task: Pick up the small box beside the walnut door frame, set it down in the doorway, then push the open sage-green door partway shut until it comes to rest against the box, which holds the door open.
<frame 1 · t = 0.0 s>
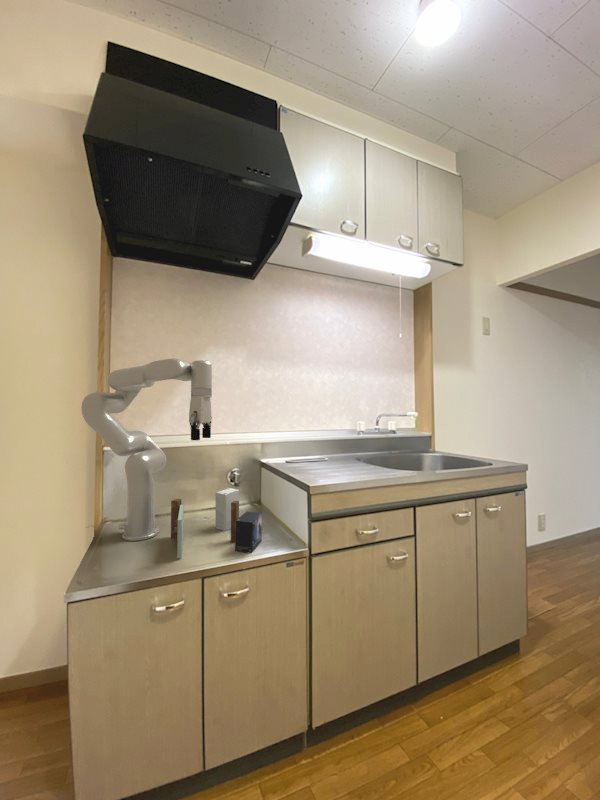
hand: (201, 439, 123), 37 cm above the table, tool pointing down, fingers open, 9 cm apart
door frame: (204, 539, 121), on the table
small box: (249, 546, 115), on the table
door: (178, 528, 114), point 7 cm above the table, hinge at 65.0°
skincare box: (227, 527, 133), on the table
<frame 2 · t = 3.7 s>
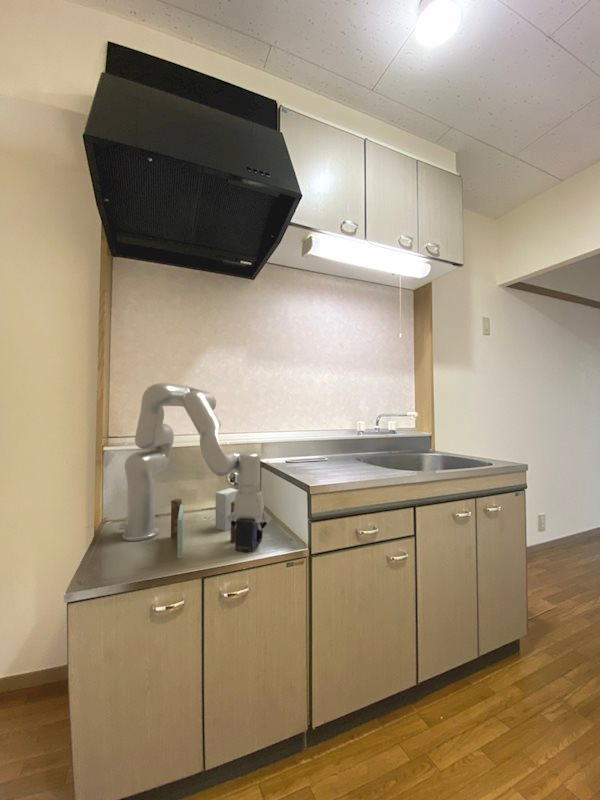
hand: (249, 539, 115), 2 cm above the table, tool pointing down, fingers closed on small box, 6 cm apart
small box: (249, 546, 115), on the table, touching gripper
everything else where it was.
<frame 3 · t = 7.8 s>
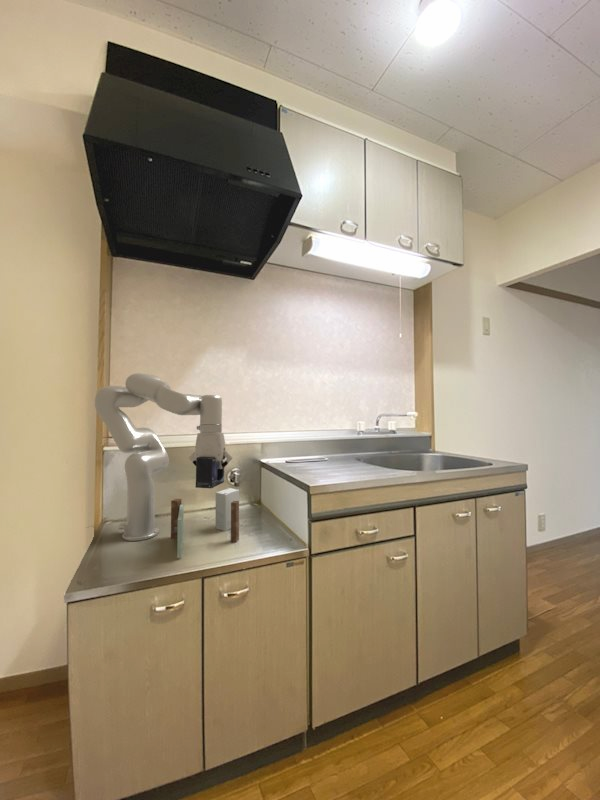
hand: (210, 478, 117), 23 cm above the table, tool pointing down, fingers closed on small box, 6 cm apart
small box: (210, 485, 117), point 21 cm above the table, touching gripper
everything else where it was.
when the fingers open (4 cm above the table, at t = 11.8 s): small box drops 1 cm, on the table.
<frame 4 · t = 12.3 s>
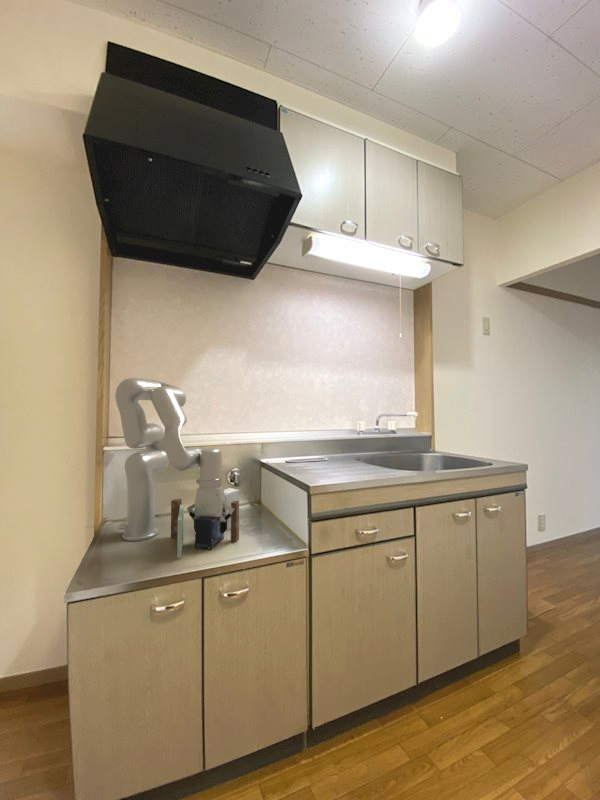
hand: (210, 531, 117), 4 cm above the table, tool pointing down, fingers open, 9 cm apart
small box: (210, 544, 117), on the table
everything else where it was.
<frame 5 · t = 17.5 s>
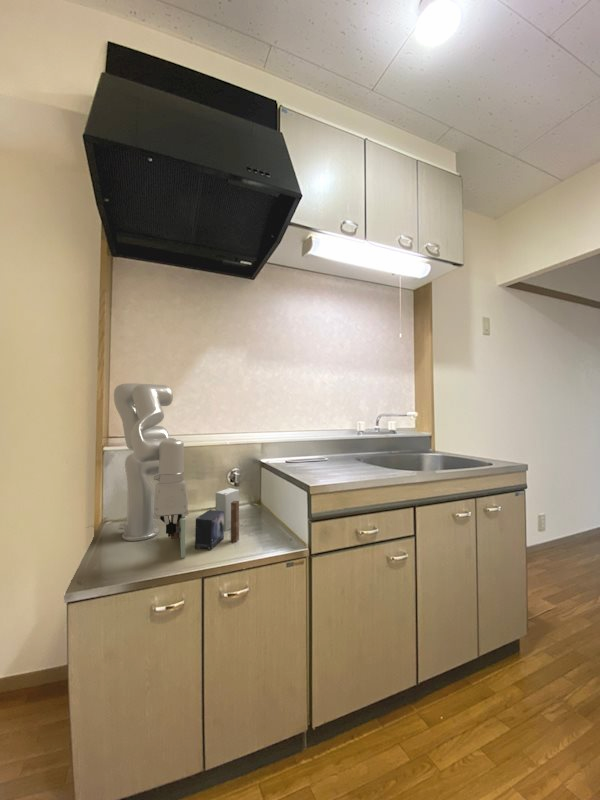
hand: (171, 535, 106), 7 cm above the table, tool pointing down, fingers closed
door: (180, 528, 114), point 7 cm above the table, hinge at 61.6°, touching gripper
everything else where it was.
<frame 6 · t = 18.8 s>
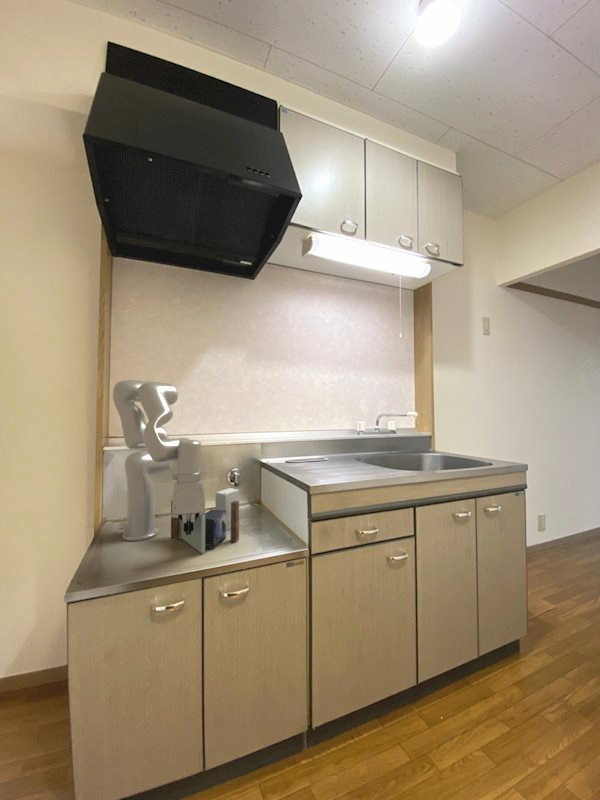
hand: (188, 533, 108), 7 cm above the table, tool pointing down, fingers closed
door: (189, 527, 115), point 7 cm above the table, hinge at 41.4°, touching gripper
everything else where it was.
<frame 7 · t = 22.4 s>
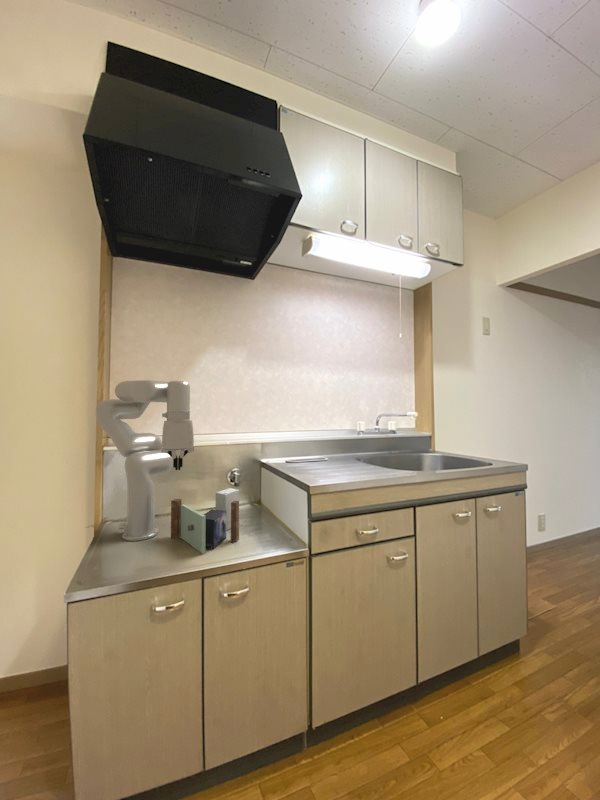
hand: (177, 469, 114), 27 cm above the table, tool pointing down, fingers closed
door: (189, 527, 115), point 7 cm above the table, hinge at 41.2°
everything else where it was.
at the end: small box inside the target area (0.8 cm from its centre), on the table; door at +41° (first picture: +65°); small box tilted 0° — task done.
